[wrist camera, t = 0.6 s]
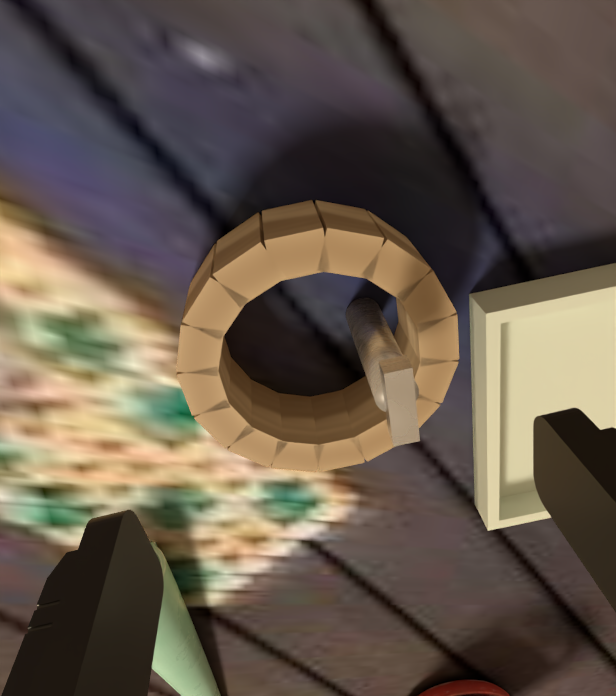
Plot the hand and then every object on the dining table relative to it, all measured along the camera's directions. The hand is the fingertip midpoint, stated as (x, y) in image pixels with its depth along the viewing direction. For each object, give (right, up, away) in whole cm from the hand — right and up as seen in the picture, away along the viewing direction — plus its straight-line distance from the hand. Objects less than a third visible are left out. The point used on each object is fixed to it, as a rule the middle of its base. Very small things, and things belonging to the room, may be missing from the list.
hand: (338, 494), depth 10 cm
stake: (+2, +5, +20) cm, 21 cm away
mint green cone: (-11, -22, +35) cm, 43 cm away
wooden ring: (0, +4, +20) cm, 20 cm away
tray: (+19, +1, +24) cm, 31 cm away
